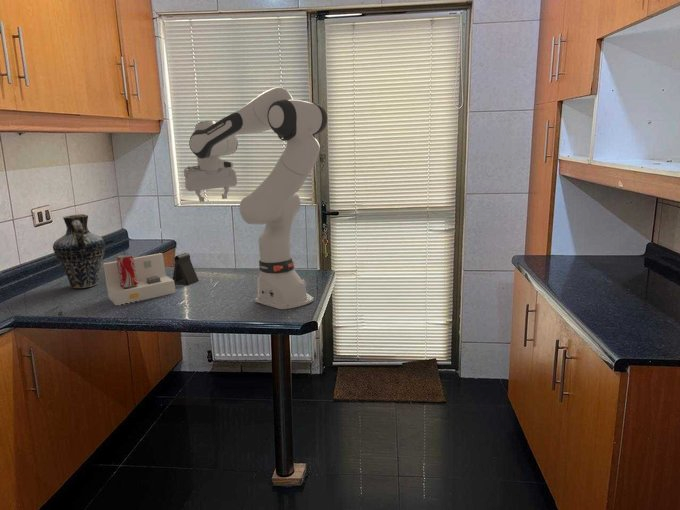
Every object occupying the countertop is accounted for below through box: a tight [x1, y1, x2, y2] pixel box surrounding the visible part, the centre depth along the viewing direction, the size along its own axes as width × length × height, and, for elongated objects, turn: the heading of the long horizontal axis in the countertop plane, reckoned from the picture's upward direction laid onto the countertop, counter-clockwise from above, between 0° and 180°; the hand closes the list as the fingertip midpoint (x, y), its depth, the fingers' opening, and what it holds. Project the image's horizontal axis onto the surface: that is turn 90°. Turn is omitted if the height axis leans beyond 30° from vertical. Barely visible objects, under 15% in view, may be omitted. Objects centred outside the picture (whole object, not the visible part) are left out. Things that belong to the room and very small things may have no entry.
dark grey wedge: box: [172, 252, 199, 286], centre depth 212 cm, size 9×6×12 cm, turn 64°
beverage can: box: [116, 253, 138, 288], centre depth 192 cm, size 6×6×12 cm
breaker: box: [147, 276, 160, 284], centre depth 199 cm, size 4×4×4 cm
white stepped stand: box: [102, 252, 177, 306], centre depth 197 cm, size 12×22×14 cm, turn 126°
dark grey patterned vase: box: [52, 213, 106, 289], centre depth 213 cm, size 21×19×30 cm
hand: (213, 200), depth 201 cm, fingers open, 8 cm apart
